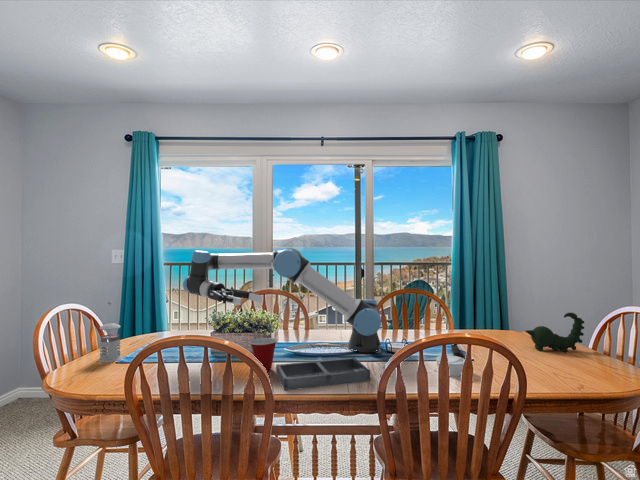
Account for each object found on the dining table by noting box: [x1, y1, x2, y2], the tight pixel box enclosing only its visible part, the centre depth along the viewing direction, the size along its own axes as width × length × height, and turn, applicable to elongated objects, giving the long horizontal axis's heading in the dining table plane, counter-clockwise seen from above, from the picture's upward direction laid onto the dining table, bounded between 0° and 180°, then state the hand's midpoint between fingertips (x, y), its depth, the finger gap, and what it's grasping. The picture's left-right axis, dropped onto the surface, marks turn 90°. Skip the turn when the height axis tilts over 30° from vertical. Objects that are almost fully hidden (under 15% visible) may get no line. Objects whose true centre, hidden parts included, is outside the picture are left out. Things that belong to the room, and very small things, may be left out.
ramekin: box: [435, 354, 466, 377], centre depth 161 cm, size 11×11×5 cm
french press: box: [97, 300, 124, 363], centre depth 178 cm, size 10×12×25 cm
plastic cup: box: [249, 337, 278, 372], centre depth 164 cm, size 11×11×12 cm
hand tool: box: [450, 343, 465, 359], centre depth 184 cm, size 19×4×5 cm, turn 167°
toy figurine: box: [525, 312, 585, 353], centre depth 190 cm, size 9×19×25 cm
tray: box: [275, 357, 371, 391], centre depth 155 cm, size 32×16×4 cm, turn 106°
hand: (251, 300), depth 168 cm, fingers open, 13 cm apart
